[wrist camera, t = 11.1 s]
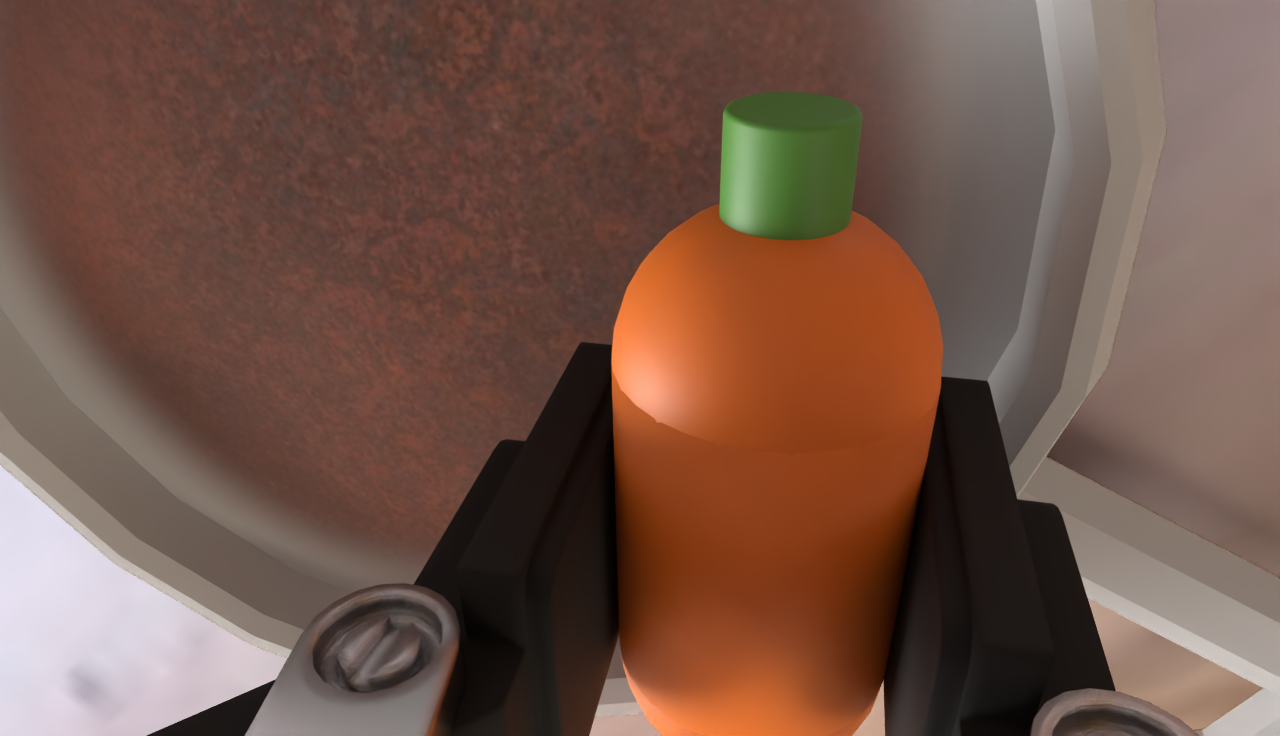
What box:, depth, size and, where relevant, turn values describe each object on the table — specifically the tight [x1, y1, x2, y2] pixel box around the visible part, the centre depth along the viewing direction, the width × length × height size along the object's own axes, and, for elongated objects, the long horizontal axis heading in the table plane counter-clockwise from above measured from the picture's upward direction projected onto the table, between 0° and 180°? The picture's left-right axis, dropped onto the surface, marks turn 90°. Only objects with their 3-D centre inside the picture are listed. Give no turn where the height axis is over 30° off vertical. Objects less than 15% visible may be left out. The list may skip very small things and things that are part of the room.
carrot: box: [611, 92, 943, 736], centre depth 10 cm, size 10×3×3 cm, turn 1°
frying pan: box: [0, 0, 1280, 736], centre depth 12 cm, size 17×3×28 cm
